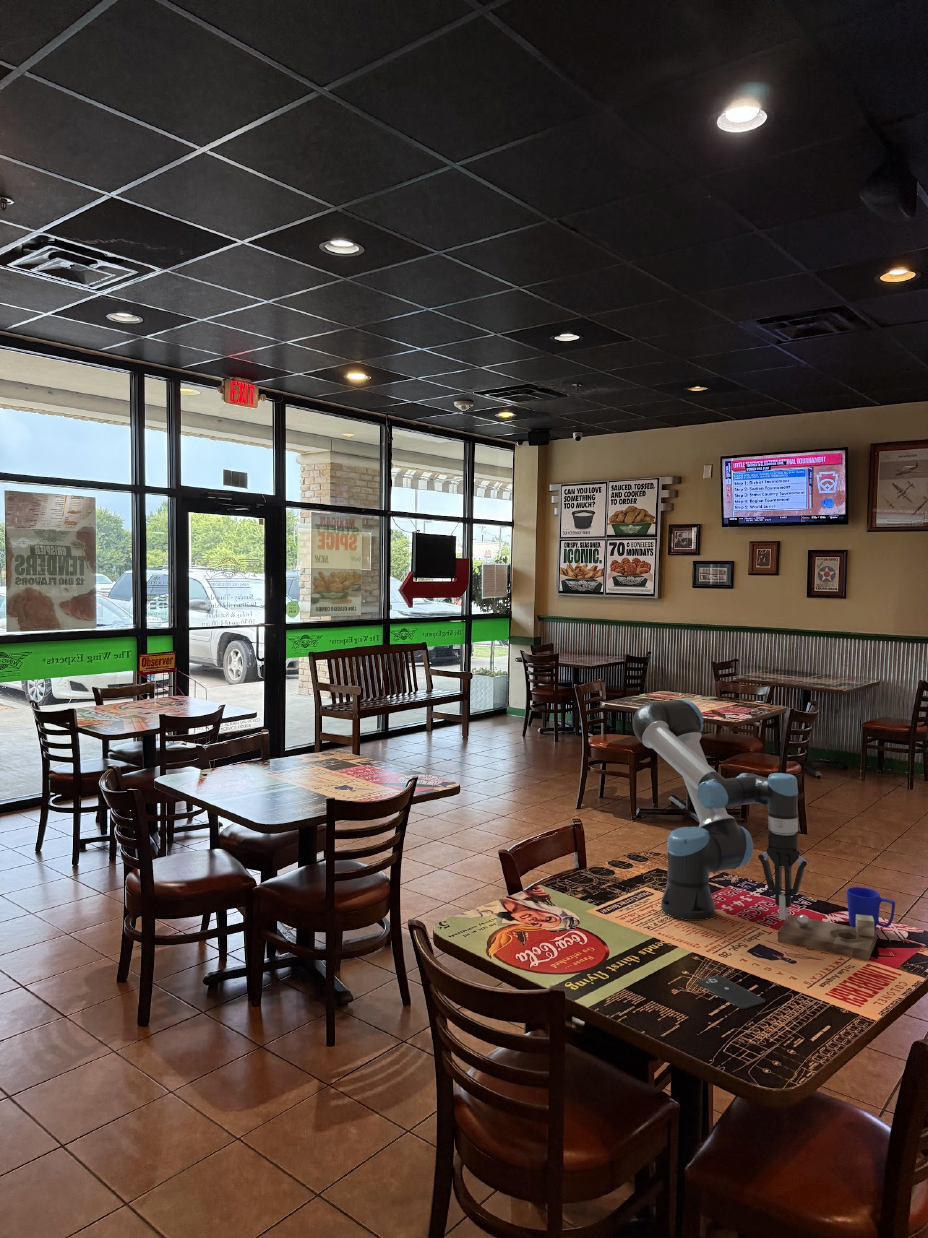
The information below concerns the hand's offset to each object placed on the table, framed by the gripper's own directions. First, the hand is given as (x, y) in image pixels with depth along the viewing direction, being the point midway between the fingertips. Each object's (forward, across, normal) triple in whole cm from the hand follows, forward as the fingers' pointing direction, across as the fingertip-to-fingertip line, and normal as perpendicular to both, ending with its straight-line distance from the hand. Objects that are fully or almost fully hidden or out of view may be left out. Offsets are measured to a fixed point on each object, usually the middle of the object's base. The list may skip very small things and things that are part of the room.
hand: (783, 918), depth 232 cm
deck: (+4, +11, 0) cm, 12 cm away
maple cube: (+2, +20, +5) cm, 20 cm away
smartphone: (+5, -2, -42) cm, 43 cm away
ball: (0, +5, 0) cm, 5 cm away
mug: (+4, +19, +15) cm, 25 cm away
